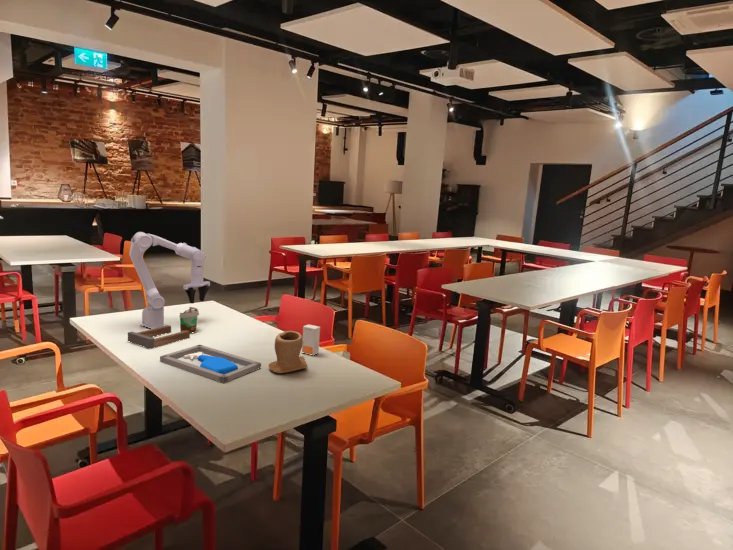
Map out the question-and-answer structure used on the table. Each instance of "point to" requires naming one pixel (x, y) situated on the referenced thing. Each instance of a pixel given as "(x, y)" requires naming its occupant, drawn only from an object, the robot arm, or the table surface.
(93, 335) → the table surface
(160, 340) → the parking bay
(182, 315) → the food container
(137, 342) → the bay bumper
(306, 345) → the skincare box
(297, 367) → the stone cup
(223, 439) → the table surface
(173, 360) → the rim
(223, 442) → the table surface
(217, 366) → the spray bottle
